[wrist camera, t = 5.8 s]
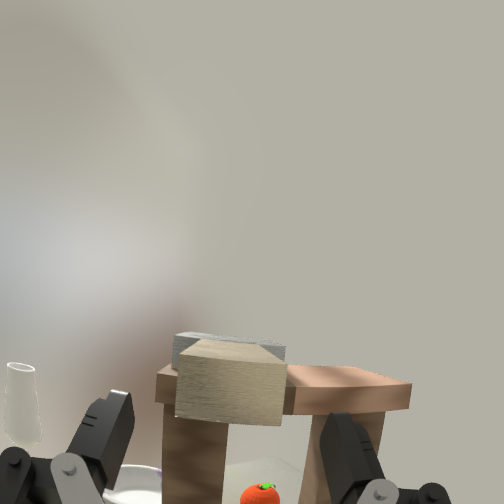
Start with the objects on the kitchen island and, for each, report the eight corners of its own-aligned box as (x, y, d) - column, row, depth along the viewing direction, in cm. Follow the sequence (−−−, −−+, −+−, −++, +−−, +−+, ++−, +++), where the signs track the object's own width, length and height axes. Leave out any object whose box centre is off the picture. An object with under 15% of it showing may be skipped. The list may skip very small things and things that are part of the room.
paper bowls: (84, 499, 34) (80, 464, 36) (157, 491, 45) (157, 459, 46) (120, 552, 24) (115, 515, 25) (206, 531, 34) (208, 497, 36)
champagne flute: (53, 506, 29) (41, 375, 34) (15, 502, 25) (-1, 367, 30) (48, 486, 34) (40, 365, 39) (14, 482, 30) (3, 358, 35)
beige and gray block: (124, 407, 10) (127, 345, 11) (186, 355, 30) (188, 331, 30) (330, 425, 11) (338, 365, 11) (266, 364, 30) (268, 339, 31)
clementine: (257, 500, 46) (261, 472, 48) (287, 511, 42) (293, 483, 44) (230, 514, 40) (233, 485, 42) (262, 529, 36) (266, 499, 38)
